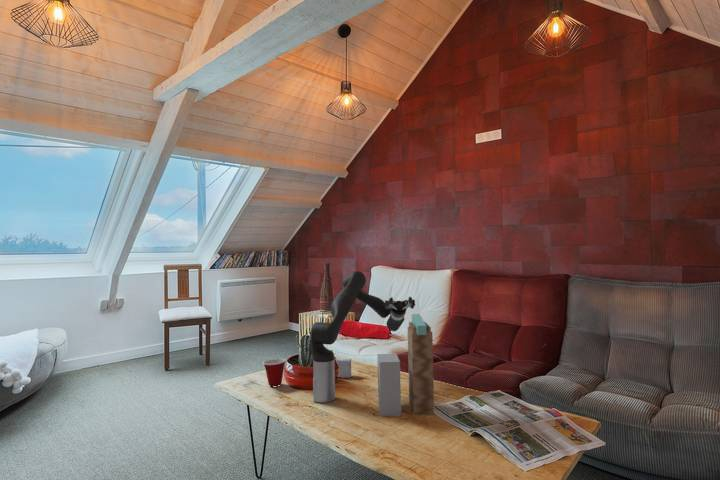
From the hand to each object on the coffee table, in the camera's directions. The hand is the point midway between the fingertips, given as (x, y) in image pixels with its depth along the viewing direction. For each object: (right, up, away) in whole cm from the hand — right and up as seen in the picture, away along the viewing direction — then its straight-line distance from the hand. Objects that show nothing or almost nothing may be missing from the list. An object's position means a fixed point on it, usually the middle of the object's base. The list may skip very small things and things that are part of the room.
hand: (401, 298), depth 195 cm
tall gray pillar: (-7, -41, -26) cm, 49 cm away
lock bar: (+5, -9, -22) cm, 25 cm away
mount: (+6, -41, -26) cm, 49 cm away
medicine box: (-28, -42, +17) cm, 53 cm away
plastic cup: (-60, -43, +6) cm, 74 cm away
